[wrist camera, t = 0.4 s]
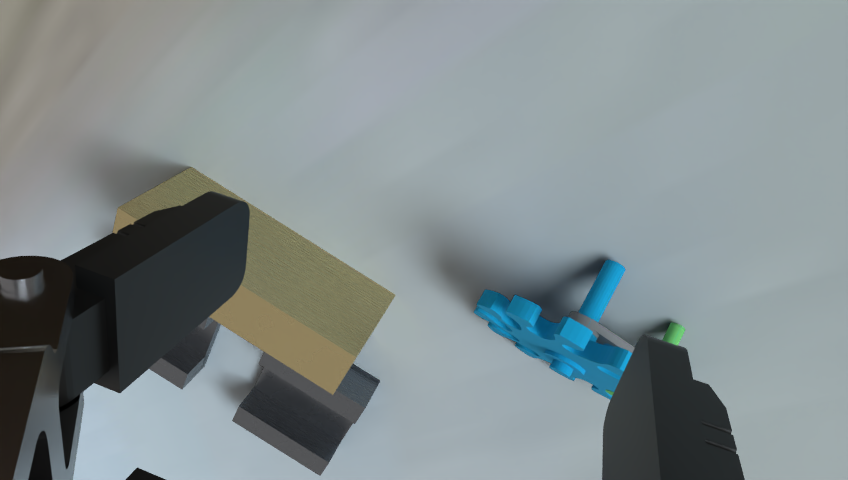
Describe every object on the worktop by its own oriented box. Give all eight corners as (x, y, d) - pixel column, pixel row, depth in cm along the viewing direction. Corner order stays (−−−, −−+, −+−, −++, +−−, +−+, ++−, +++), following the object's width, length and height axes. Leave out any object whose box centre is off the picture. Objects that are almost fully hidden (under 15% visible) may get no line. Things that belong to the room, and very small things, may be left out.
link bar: (193, 166, 34) (117, 207, 29) (396, 293, 34) (356, 357, 29) (180, 206, 36) (108, 253, 31) (374, 328, 36) (333, 394, 31)
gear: (441, 312, 32) (517, 321, 22) (495, 220, 33) (590, 191, 23) (601, 415, 34) (735, 465, 24) (646, 324, 35) (791, 337, 25)
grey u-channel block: (141, 232, 38) (112, 250, 36) (380, 380, 38) (365, 408, 35) (121, 314, 42) (95, 334, 40) (335, 448, 42) (320, 475, 40)
